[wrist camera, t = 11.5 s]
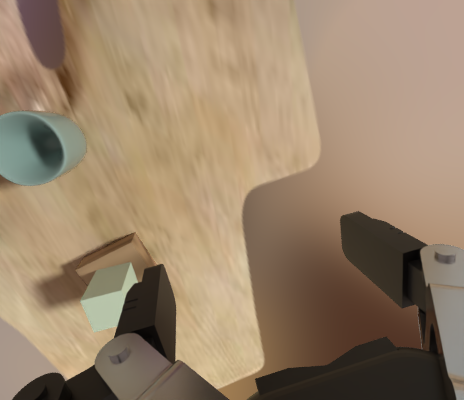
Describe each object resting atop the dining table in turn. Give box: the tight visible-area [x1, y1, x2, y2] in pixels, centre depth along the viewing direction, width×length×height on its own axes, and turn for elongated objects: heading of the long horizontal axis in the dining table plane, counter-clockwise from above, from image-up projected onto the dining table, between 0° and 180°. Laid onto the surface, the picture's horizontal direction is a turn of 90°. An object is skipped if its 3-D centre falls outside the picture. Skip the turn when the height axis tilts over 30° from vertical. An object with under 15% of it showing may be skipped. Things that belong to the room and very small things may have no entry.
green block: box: [80, 262, 138, 332], centre depth 39 cm, size 5×5×7 cm
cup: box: [0, 110, 87, 186], centre depth 34 cm, size 8×8×10 cm
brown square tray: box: [75, 233, 157, 286], centre depth 44 cm, size 9×9×4 cm
